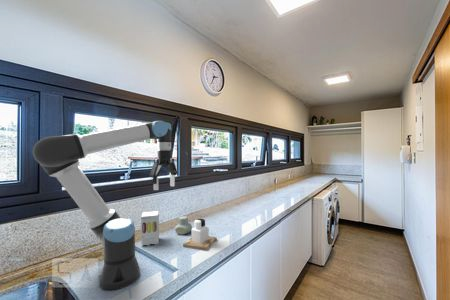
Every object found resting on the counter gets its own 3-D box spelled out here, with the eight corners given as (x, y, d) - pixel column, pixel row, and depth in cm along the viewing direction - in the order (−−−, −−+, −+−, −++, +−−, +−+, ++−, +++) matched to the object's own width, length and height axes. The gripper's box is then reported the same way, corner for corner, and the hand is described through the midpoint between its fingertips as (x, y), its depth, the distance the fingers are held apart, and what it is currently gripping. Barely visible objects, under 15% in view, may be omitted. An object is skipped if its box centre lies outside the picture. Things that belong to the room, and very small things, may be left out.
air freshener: (193, 231, 134) (193, 215, 135) (188, 236, 126) (188, 220, 127) (179, 229, 137) (178, 215, 138) (172, 234, 129) (172, 219, 130)
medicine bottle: (199, 237, 121) (199, 216, 121) (209, 239, 117) (208, 218, 117) (191, 241, 115) (190, 220, 115) (200, 244, 111) (200, 222, 111)
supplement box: (140, 246, 114) (140, 216, 114) (142, 240, 122) (142, 212, 123) (158, 244, 116) (158, 214, 116) (159, 237, 125) (158, 210, 125)
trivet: (205, 250, 107) (205, 247, 107) (183, 246, 112) (183, 243, 112) (216, 239, 120) (216, 236, 120) (195, 236, 125) (195, 233, 125)
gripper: (153, 149, 101) (153, 192, 100) (183, 150, 124) (183, 185, 123) (142, 149, 104) (142, 191, 103) (173, 150, 127) (173, 184, 126)
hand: (164, 188), depth 113 cm, fingers open, 13 cm apart
